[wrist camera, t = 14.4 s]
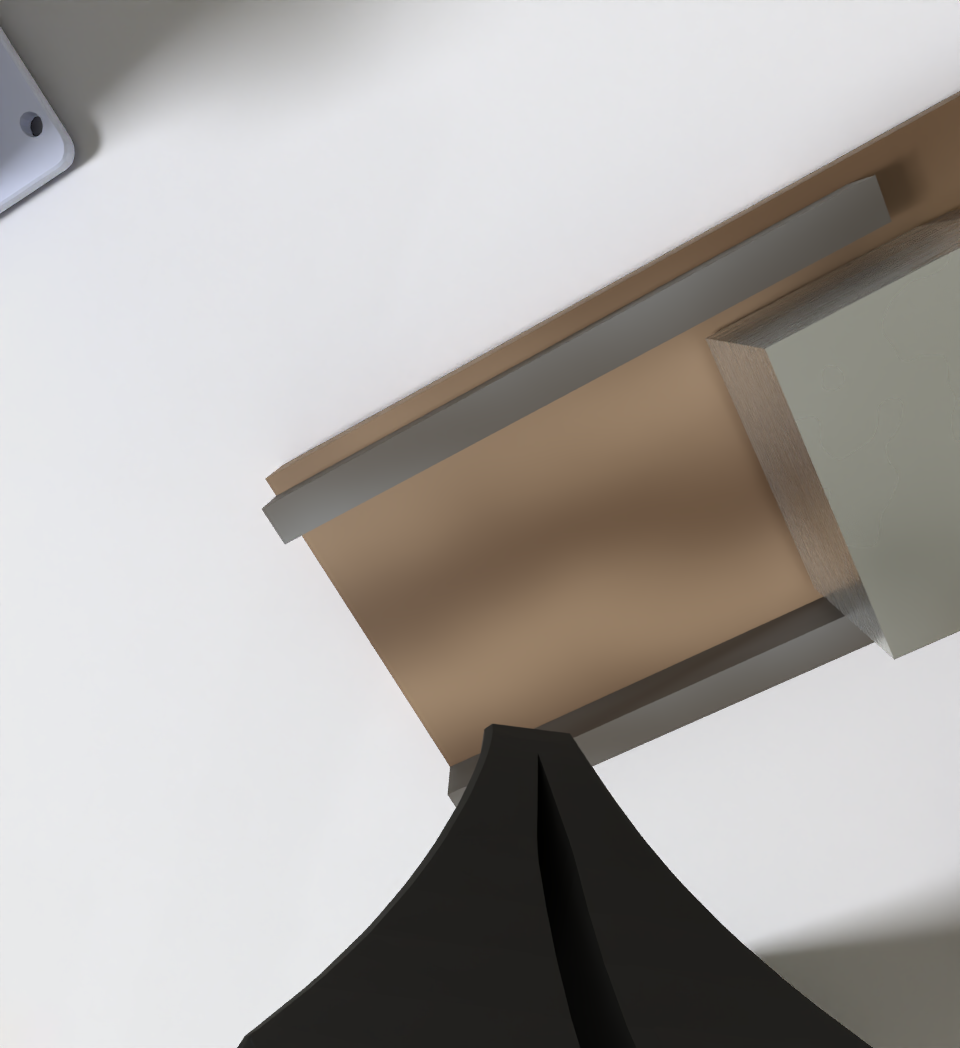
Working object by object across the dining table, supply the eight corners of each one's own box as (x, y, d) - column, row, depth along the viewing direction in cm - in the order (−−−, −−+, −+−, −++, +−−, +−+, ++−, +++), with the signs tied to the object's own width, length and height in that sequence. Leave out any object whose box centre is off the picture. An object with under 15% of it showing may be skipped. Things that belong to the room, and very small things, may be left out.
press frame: (282, 465, 19) (159, 561, 12) (1203, -44, 16) (1796, -331, 9) (476, 773, 22) (468, 998, 15) (1297, 403, 19) (1805, 467, 11)
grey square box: (705, 338, 17) (765, 348, 13) (943, 212, 16) (1079, 185, 12) (814, 588, 18) (894, 659, 15) (1034, 487, 17) (1176, 536, 14)
